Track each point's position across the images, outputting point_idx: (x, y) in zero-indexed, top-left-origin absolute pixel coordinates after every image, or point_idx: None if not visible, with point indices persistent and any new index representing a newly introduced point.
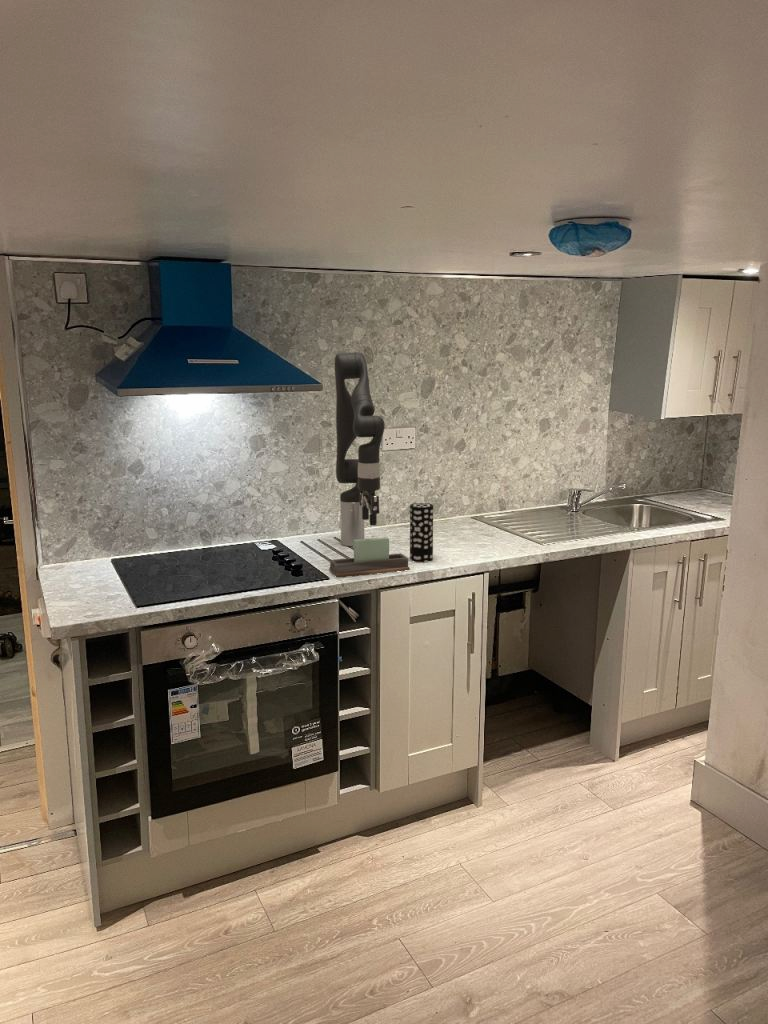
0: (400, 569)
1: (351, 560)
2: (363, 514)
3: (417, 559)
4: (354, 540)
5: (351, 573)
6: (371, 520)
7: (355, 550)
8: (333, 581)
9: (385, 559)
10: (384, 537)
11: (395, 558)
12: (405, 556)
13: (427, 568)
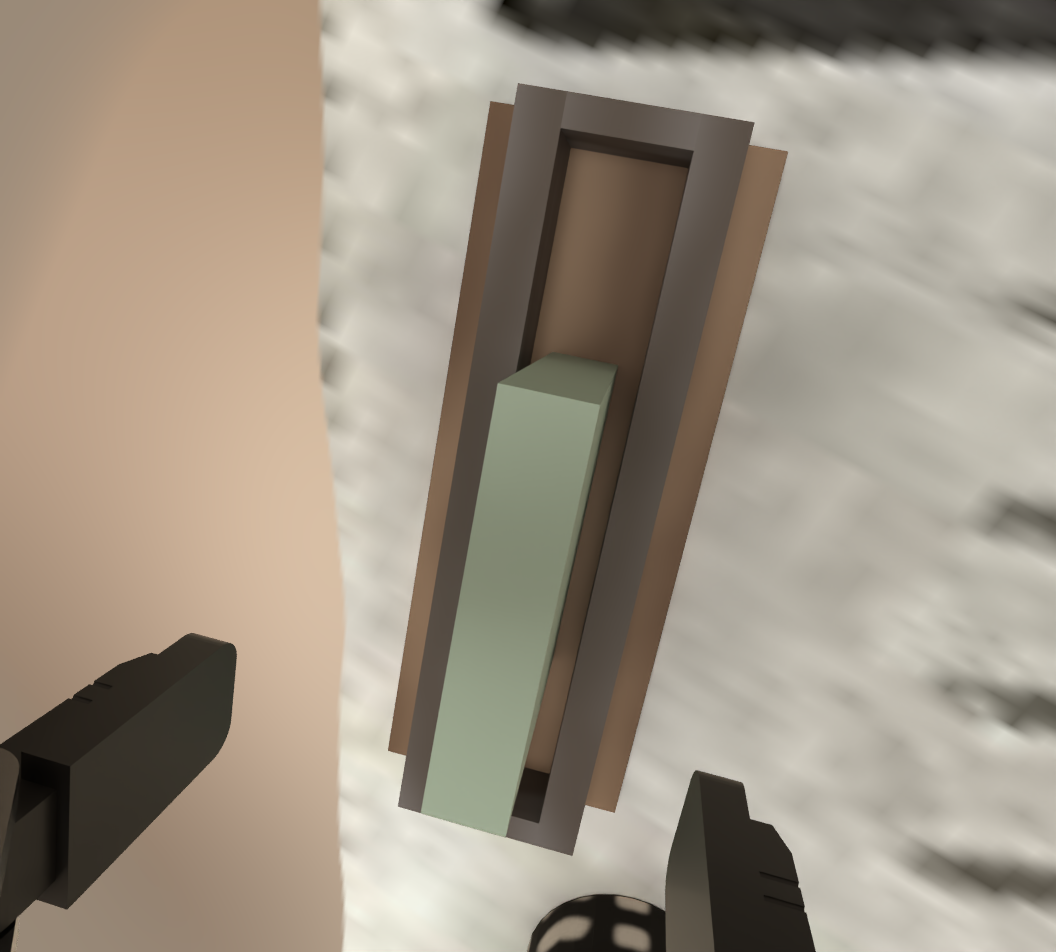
0: (401, 679)
1: (645, 359)
2: (702, 863)
3: (557, 923)
4: (561, 398)
5: (470, 258)
6: (125, 695)
7: (533, 372)
8: (417, 31)
9: None
10: (501, 804)
11: None
12: None
13: (388, 862)
